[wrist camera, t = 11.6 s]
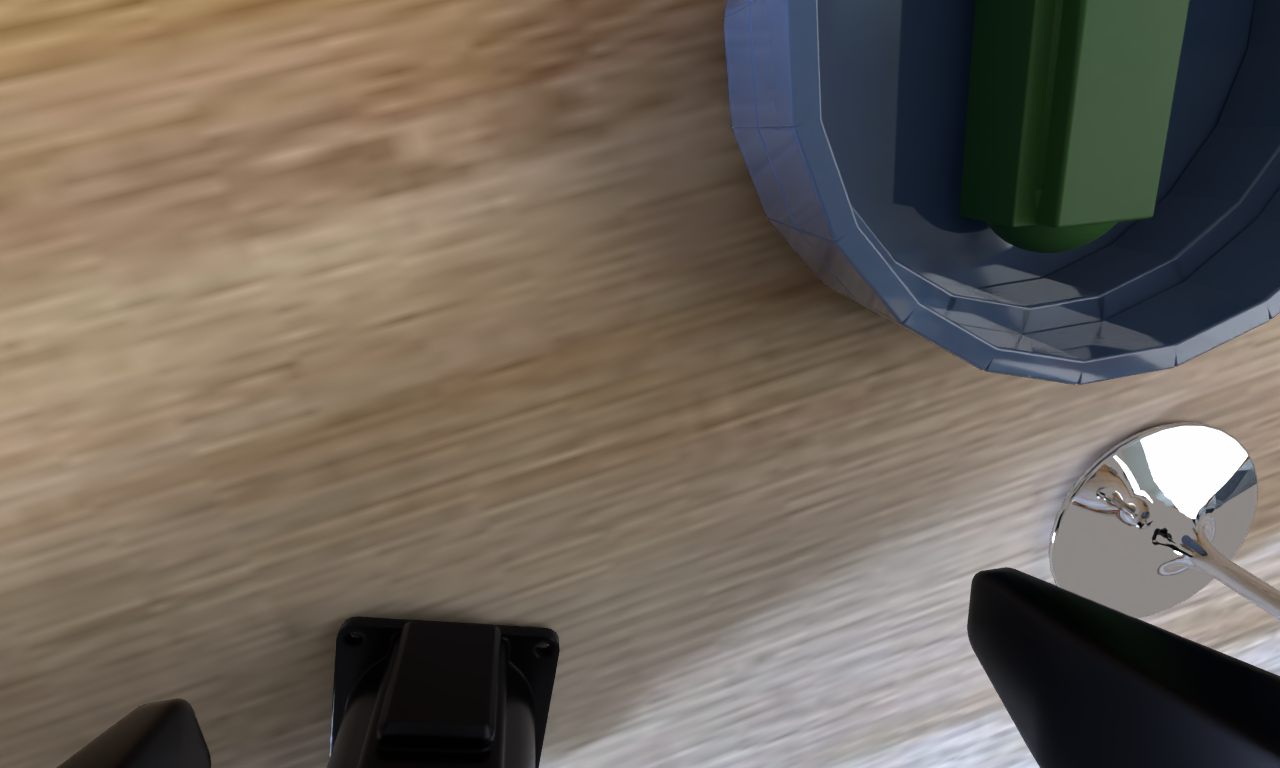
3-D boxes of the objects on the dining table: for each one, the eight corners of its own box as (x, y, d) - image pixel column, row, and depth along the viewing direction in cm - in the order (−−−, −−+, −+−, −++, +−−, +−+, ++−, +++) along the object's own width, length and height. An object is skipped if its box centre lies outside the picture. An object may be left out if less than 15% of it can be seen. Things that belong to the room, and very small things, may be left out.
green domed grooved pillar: (1060, 235, 20) (1170, 256, 16) (941, 248, 19) (1027, 272, 16) (1117, -220, 16) (1272, -312, 13) (972, -215, 16) (1092, -308, 12)
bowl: (1139, 357, 22) (1302, 419, 17) (665, 282, 19) (708, 331, 14) (1385, -231, 17) (1699, -363, 13) (809, -450, 14) (941, -727, 10)
